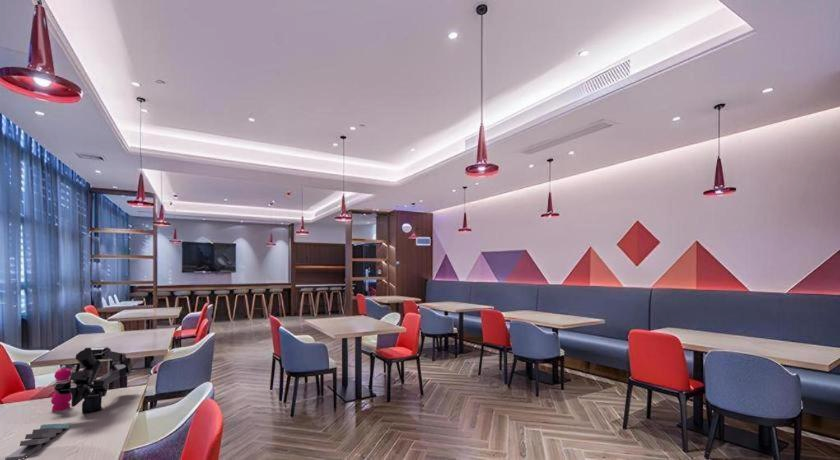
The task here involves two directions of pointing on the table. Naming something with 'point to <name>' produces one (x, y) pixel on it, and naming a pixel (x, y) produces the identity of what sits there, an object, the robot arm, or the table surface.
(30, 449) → the domino
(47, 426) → the domino
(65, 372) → the pepper mill
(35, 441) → the domino
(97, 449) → the table surface
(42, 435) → the domino
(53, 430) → the domino
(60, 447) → the table surface
